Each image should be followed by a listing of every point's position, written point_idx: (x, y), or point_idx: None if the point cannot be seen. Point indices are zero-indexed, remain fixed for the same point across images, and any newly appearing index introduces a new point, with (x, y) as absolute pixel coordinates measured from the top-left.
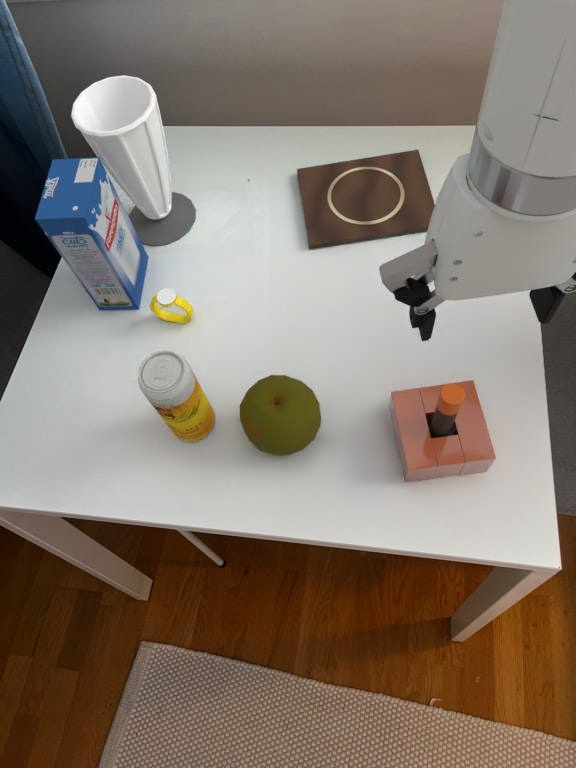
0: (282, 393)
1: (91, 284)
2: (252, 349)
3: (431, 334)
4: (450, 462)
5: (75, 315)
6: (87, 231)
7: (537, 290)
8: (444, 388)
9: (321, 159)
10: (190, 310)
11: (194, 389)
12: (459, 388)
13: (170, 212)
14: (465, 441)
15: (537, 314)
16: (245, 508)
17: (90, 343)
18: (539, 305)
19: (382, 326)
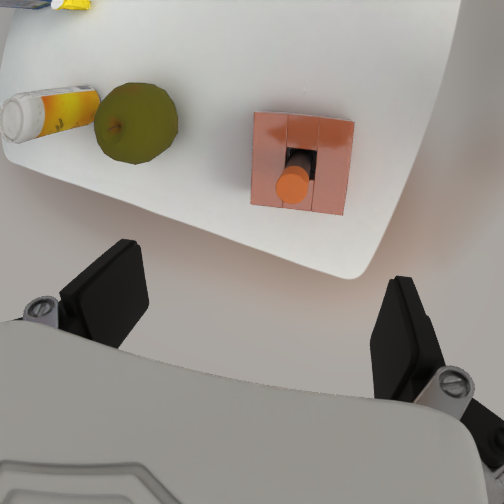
0: (120, 119)
1: (14, 5)
2: (137, 30)
3: (139, 317)
4: (295, 207)
5: (25, 17)
6: None
7: (391, 329)
8: (283, 178)
9: None
10: (82, 3)
11: (45, 120)
12: (302, 184)
13: None
14: (319, 190)
15: (375, 330)
16: (124, 185)
17: (30, 38)
18: (380, 340)
19: (279, 14)
